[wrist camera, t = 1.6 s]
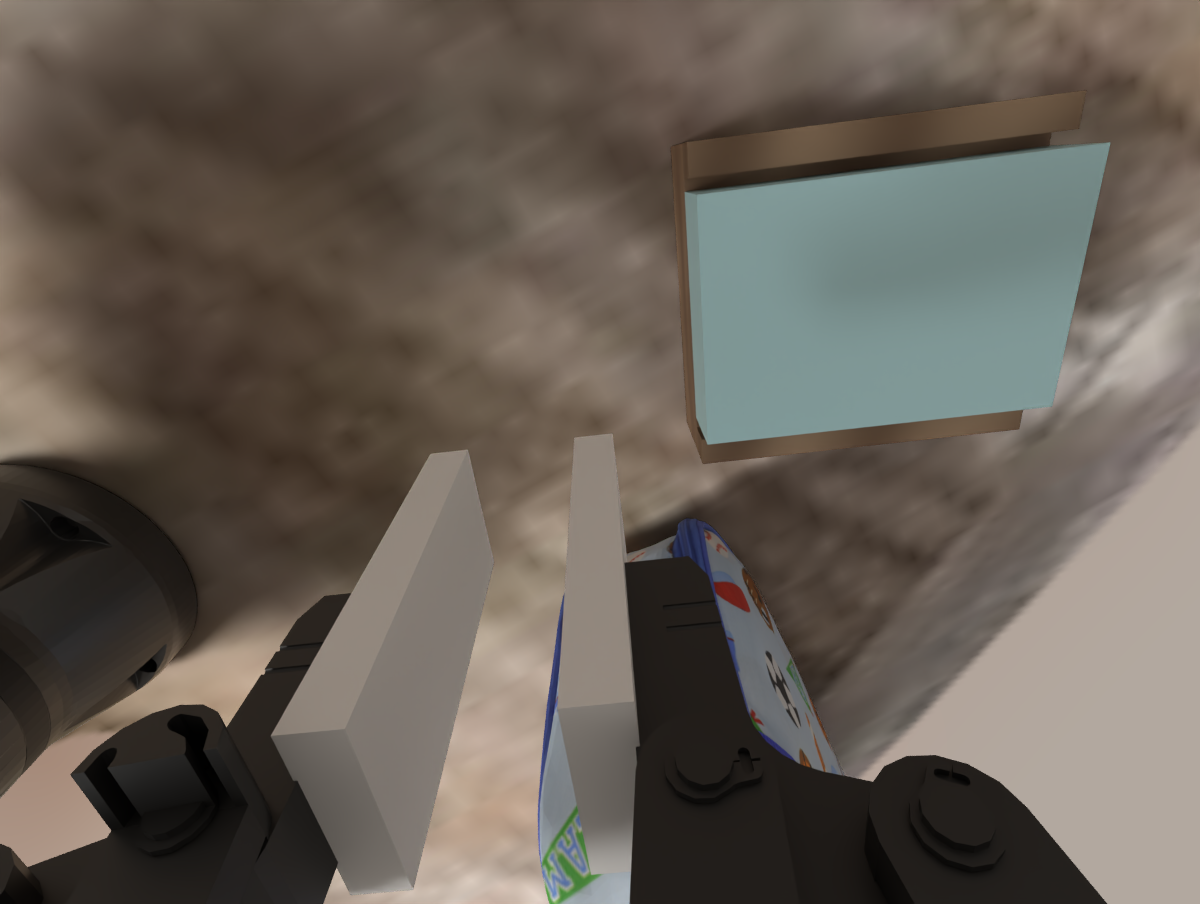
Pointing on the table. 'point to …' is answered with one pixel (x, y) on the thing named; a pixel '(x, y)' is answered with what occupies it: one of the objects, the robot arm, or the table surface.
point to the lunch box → (764, 685)
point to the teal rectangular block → (887, 291)
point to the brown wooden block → (839, 153)
